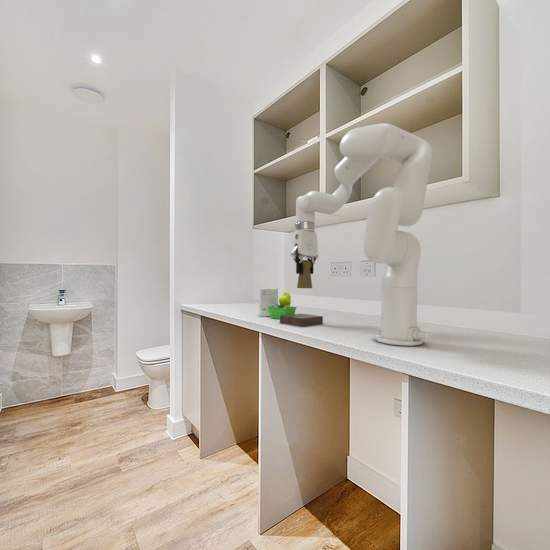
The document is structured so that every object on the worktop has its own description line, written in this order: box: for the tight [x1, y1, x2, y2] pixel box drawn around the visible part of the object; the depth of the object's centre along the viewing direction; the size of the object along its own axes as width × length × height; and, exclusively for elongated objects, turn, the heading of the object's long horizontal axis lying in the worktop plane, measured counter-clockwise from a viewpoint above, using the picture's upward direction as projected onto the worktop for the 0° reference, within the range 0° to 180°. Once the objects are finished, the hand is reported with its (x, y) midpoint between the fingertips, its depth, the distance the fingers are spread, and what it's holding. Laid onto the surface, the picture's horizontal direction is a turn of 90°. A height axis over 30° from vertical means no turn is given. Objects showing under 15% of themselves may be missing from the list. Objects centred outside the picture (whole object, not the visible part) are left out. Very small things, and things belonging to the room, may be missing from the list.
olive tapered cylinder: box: [296, 259, 313, 289], centre depth 123 cm, size 6×6×11 cm
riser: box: [279, 313, 324, 328], centre depth 123 cm, size 12×12×3 cm
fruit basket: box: [268, 292, 297, 320], centre depth 138 cm, size 11×9×11 cm
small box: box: [259, 287, 279, 317], centre depth 147 cm, size 8×6×13 cm
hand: (304, 273), depth 123 cm, fingers closed on olive tapered cylinder, 5 cm apart
